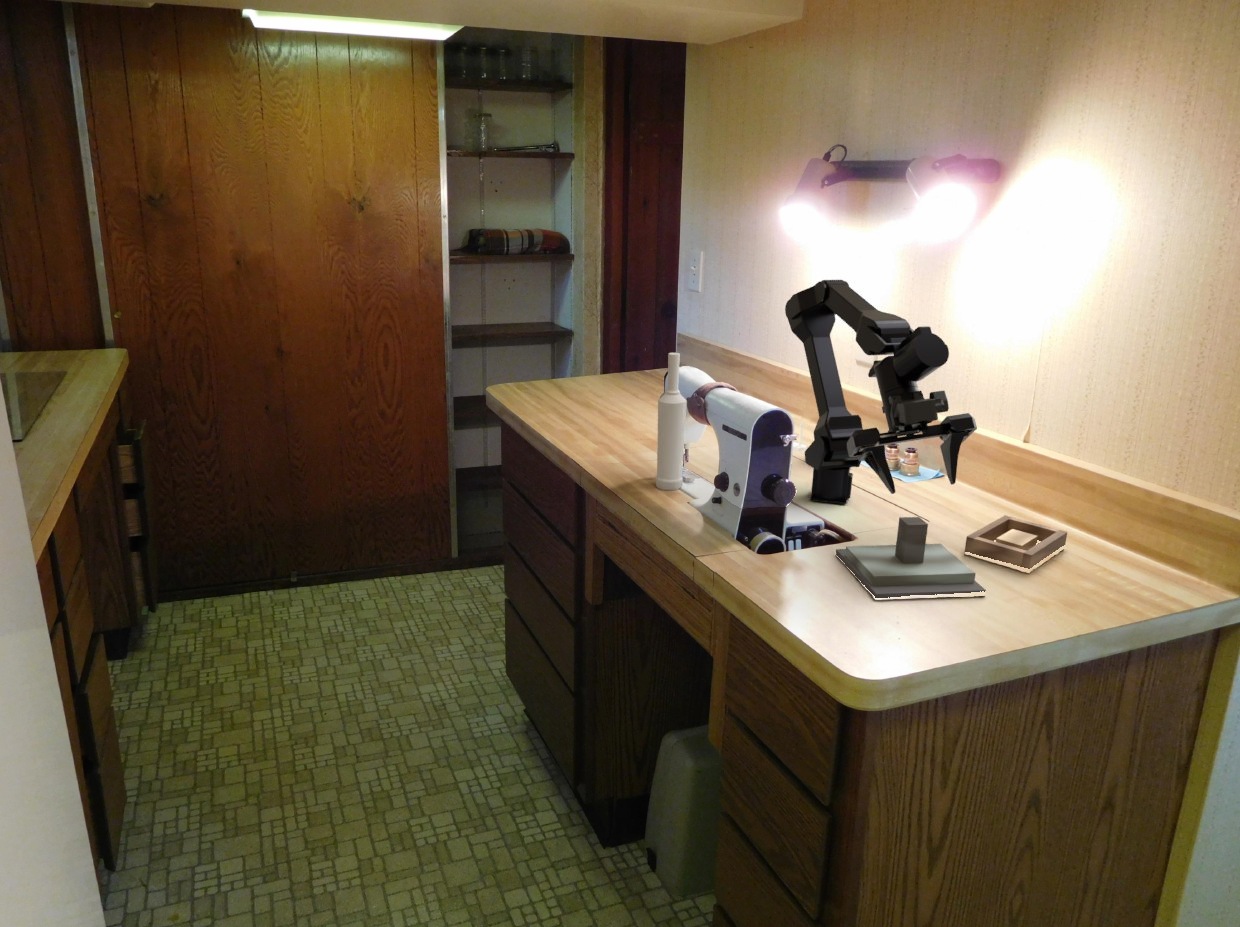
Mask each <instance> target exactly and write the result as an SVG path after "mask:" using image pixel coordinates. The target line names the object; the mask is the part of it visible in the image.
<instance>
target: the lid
mask: <svg viewBox="0 0 1240 927" xmlns="http://www.w3.org/2000/svg"><path fill="white" fill-rule="evenodd" d="M928 527H929V524H928V523H927V522H926V521H925V520H923V518H921V516H909V517H908V516H907V517H905V516H904V517H901V516H900V517H899V519H898V526H897V536H896V542H895V544H879V545H878V544H877V545H845V549H846V553H845V556H846V557H847V558H848V559H849V560H850V561H851V562H852V564H853V565H854V566H855V567H856V568H857V569H858V570H859V571H860V572H861V574H862V575H863V576H864V577H865V578H866V579H867V580H868V581H869V582H870V583H871V585H872V586H896V585H925V584H955V583H974V581H976V574H977V573H976V572H975V571H974V570H973V569H971V568H970V567H969V566H968V565H967V564H966V563H964V562H963V561H962V560H961V559H960V558H958V556H956V555H955V554H954V553H953V552H951V551H950V550H949V549H948V548H946V546H944V545H943V544H941V543H927V535H928Z"/></svg>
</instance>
